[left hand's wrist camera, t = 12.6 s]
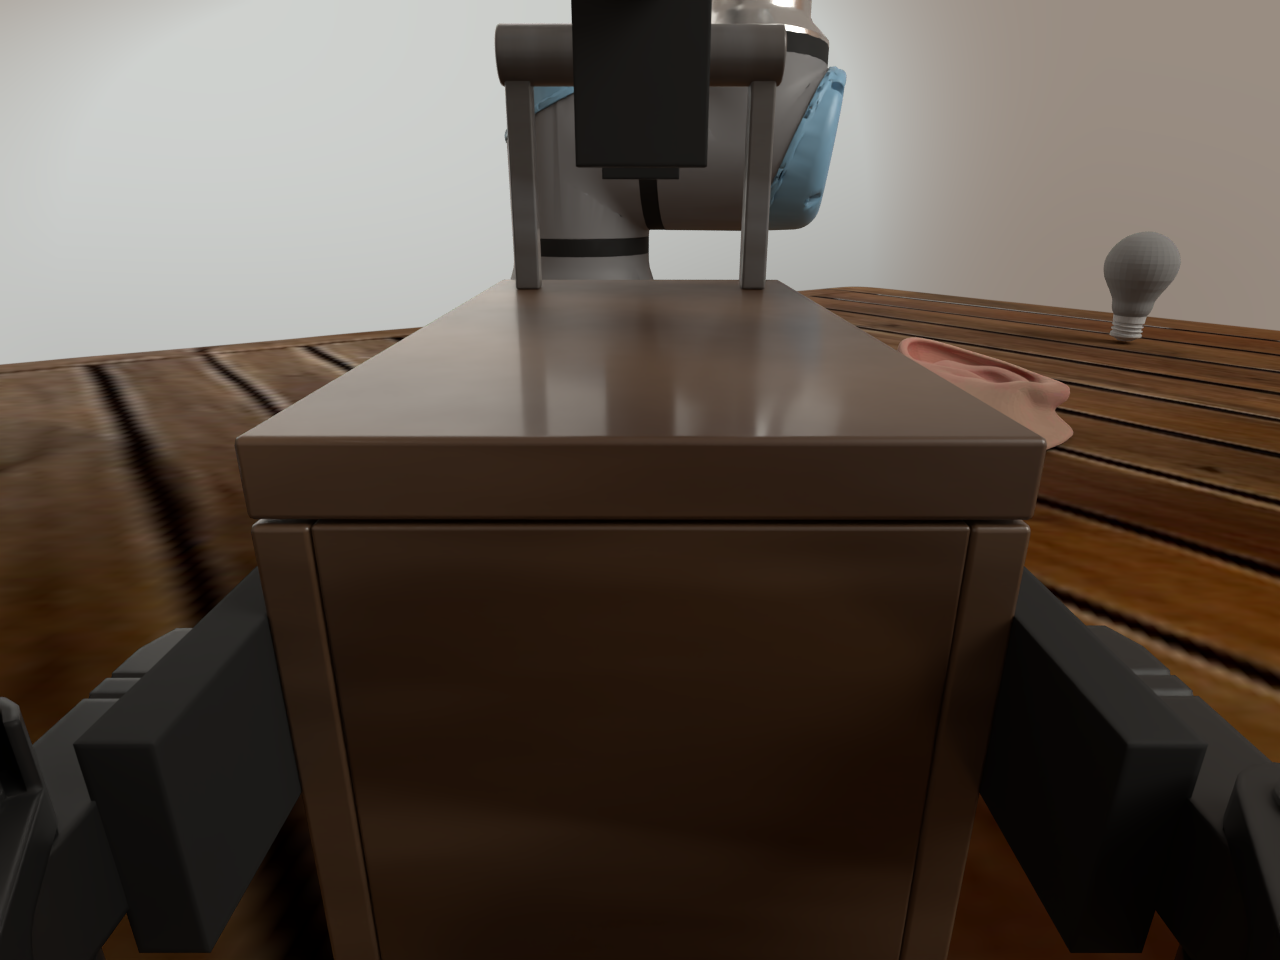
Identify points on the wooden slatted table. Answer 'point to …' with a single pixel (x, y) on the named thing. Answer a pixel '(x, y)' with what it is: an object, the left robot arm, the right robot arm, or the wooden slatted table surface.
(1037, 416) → the anatomical model
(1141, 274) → the light bulb
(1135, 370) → the wooden slatted table surface
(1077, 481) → the wooden slatted table surface
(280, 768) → the left robot arm
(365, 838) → the chest
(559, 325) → the lid
